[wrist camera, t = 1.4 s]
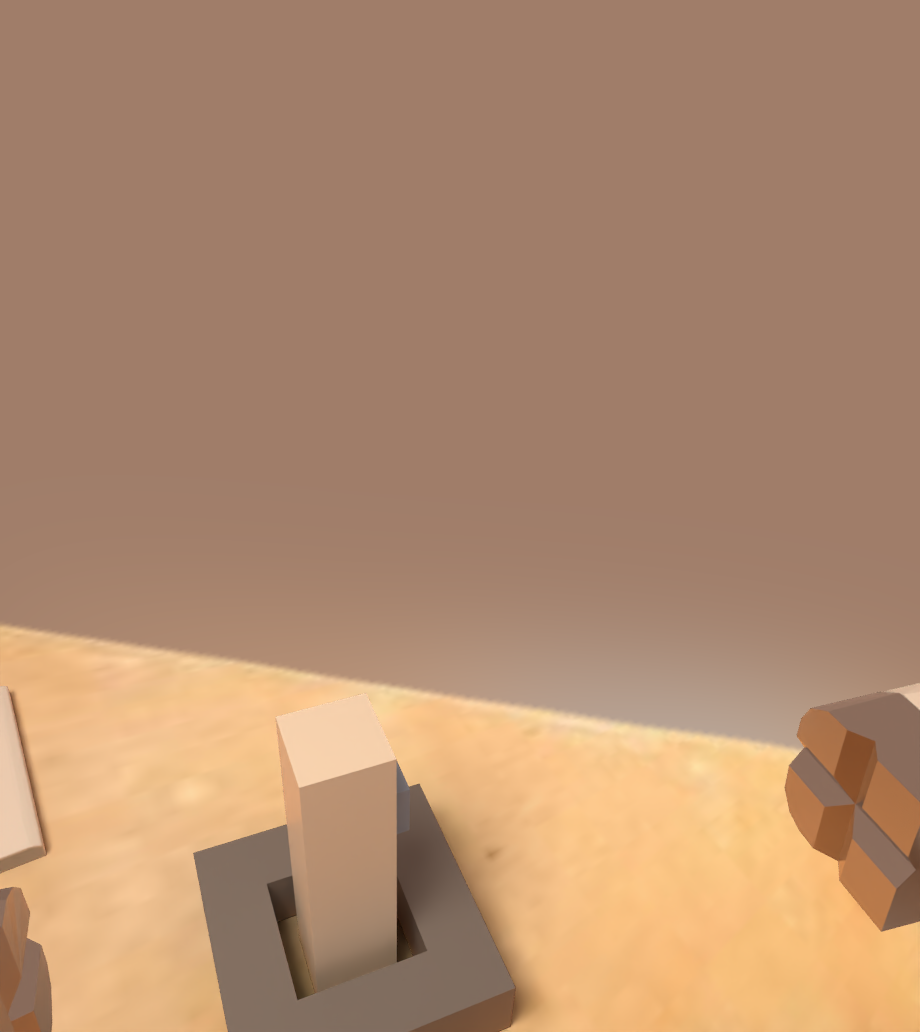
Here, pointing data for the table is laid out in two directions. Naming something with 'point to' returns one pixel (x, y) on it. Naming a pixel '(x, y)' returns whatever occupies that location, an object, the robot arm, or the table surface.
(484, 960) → the socket
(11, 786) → the external hard drive
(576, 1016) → the table surface
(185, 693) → the table surface
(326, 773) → the plug
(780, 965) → the table surface
